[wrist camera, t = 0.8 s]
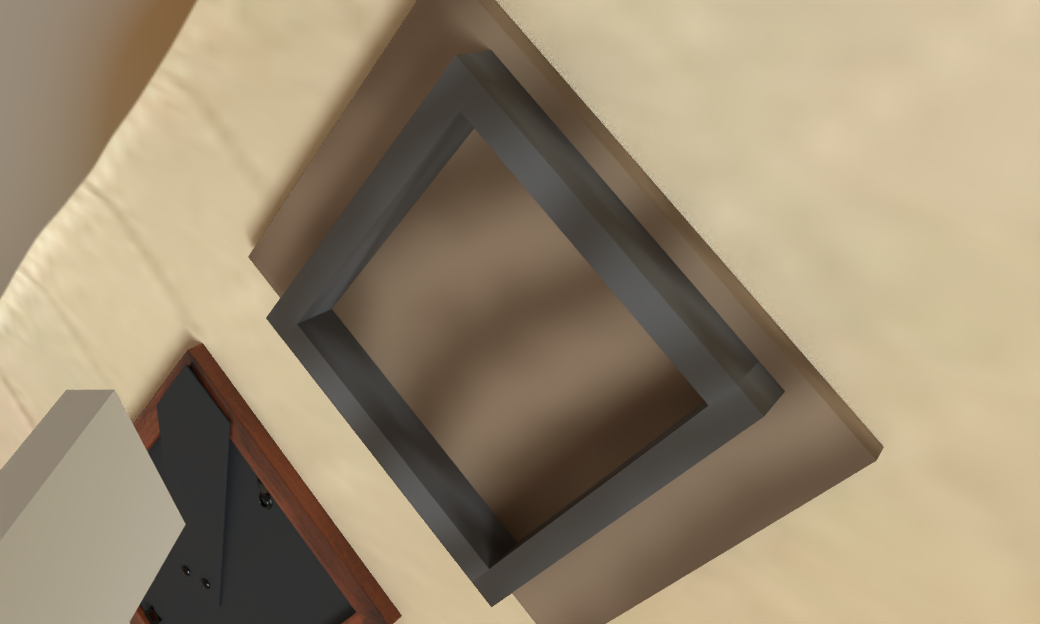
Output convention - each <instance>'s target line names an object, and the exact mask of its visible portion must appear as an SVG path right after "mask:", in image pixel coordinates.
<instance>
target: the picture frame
mask: <svg viewBox="0 0 1040 624" xmlns="http://www.w3.org/2000/svg"><path fill="white" fill-rule="evenodd" d="M133 425H134V427H135V429H136V431H137V433H138V435H139V437H140V439H141V441H142V442H143V444H144V446H145V448H146V450H147V452H148V454H149V456H150V458H151V460H152V461H153V463H154V465H155V467H156V469H157V471H158V473H159V475H160V477H161V479H162V480H163V482H164V484H165V486H166V488H167V490H168V492H169V494H170V496H171V498H172V499H173V501H174V503H175V505H176V507H177V509H178V511H179V513H180V515H181V517H182V518H183V520H184V522H185V524H186V525H185V526H184V528H183V530H182V532H181V533H180V535H179V537H178V538H177V540H176V542H175V544H174V545H173V547H172V549H171V551H170V552H169V554H168V556H167V558H166V559H165V561H164V563H163V565H162V566H161V568H160V570H159V572H158V573H157V575H156V577H155V579H154V580H153V582H152V584H151V586H150V587H149V589H148V591H147V593H146V594H145V596H144V598H143V599H142V601H141V603H140V605H139V606H138V608H137V610H136V612H135V613H134V615H133V617H132V619H131V620H130V624H393V623H395V622H396V621H397V620H398V619H399V618H400V617H401V616H402V615H401V614H400V613H399V611H398V610H397V608H396V607H395V606H394V604H393V603H392V602H391V600H390V599H389V597H388V596H387V595H386V593H385V592H384V591H383V589H382V588H381V587H380V585H379V584H378V582H377V581H376V580H375V578H374V577H373V576H372V574H371V573H370V571H369V570H368V569H367V567H366V566H365V565H364V563H363V562H362V561H361V559H360V558H359V556H358V555H357V554H356V552H355V551H354V550H353V548H352V547H351V545H350V544H349V543H348V541H347V540H346V539H345V537H344V536H343V535H342V533H341V532H340V530H339V529H338V528H337V526H336V525H335V524H334V522H333V521H332V519H331V518H330V517H329V515H328V514H327V513H326V511H325V510H324V509H323V507H322V506H321V504H320V503H319V502H318V500H317V499H316V498H315V496H314V495H313V493H312V492H311V491H310V489H309V488H308V487H307V485H306V484H305V483H304V481H303V480H302V478H301V477H300V476H299V474H298V473H297V472H296V470H295V469H294V467H293V466H292V465H291V463H290V462H289V461H288V459H287V458H286V457H285V455H284V454H283V452H282V451H281V450H280V448H279V447H278V446H277V444H276V443H275V441H274V440H273V439H272V437H271V436H270V435H269V433H268V432H267V430H266V429H265V428H264V426H263V425H262V424H261V422H260V421H259V420H258V418H257V417H256V415H255V414H254V413H253V411H252V410H251V409H250V407H249V406H248V404H247V403H246V402H245V400H244V399H243V398H242V396H241V395H240V394H239V392H238V391H237V389H236V388H235V387H234V385H233V384H232V383H231V381H230V380H229V378H228V377H227V376H226V374H225V373H224V372H223V370H222V369H221V368H220V366H219V365H218V363H217V362H216V361H215V359H214V358H213V357H212V355H211V354H210V352H209V351H208V350H207V348H206V347H205V346H204V344H201V345H199V346H196V347H194V348H191V349H189V350H187V352H186V353H185V354H184V356H183V357H182V359H181V360H180V361H179V363H178V364H177V365H176V367H175V368H174V369H173V371H172V372H171V374H170V375H169V376H168V378H167V379H166V380H165V382H164V383H163V384H162V386H161V387H160V389H159V390H158V391H157V393H156V394H155V395H154V397H153V398H152V399H151V401H150V402H149V404H148V405H147V406H146V408H145V409H144V410H143V412H142V413H141V415H140V416H139V417H138V419H137V420H136V421H135V423H134V424H133Z"/></svg>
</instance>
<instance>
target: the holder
mask: <svg viewBox="0 0 1040 624" xmlns="http://www.w3.org/2000/svg"><path fill="white" fill-rule="evenodd" d="M249 258H250V260H251V261H252V262H253V264H254V265H255V266H256V267H257V269H258V270H259V271H260V272H261V274H262V275H263V276H264V278H265V279H266V280H267V281H268V283H269V284H270V285H271V286H272V288H273V289H274V290H275V292H276V293H277V294H278V295H279V297H280V299H279V301H278V302H277V304H276V305H275V306H274V308H273V309H272V310H271V312H270V313H269V315H268V316H267V317H266V319H267V320H268V321H269V322H270V324H271V325H272V326H273V328H274V329H275V330H276V331H277V333H278V334H279V335H280V337H281V338H282V339H283V340H284V342H285V343H286V344H287V346H288V347H289V348H290V349H291V351H292V352H293V353H294V355H295V356H296V357H297V358H298V360H299V361H300V362H301V364H302V365H303V366H304V367H305V369H306V370H307V371H308V372H309V374H310V375H311V376H312V378H313V379H314V380H315V381H316V383H317V384H318V385H319V387H320V388H321V389H322V390H323V392H324V393H325V394H326V396H327V397H328V398H329V399H330V401H331V402H332V403H333V405H334V406H335V407H336V408H337V410H338V411H339V412H340V414H341V415H342V416H343V417H344V419H345V420H346V421H347V423H348V424H349V425H350V426H351V428H352V429H353V430H354V431H355V433H356V434H357V435H358V437H359V438H360V439H361V440H362V442H363V443H364V444H365V446H366V447H367V448H368V449H369V451H370V452H371V453H372V455H373V456H374V457H375V458H376V460H377V461H378V462H379V464H380V465H381V466H382V467H383V469H384V470H385V471H386V473H387V474H388V475H389V476H390V478H391V479H392V480H393V482H394V483H395V484H396V485H397V487H398V488H399V489H400V490H401V492H402V493H403V494H404V496H405V497H406V498H407V499H408V501H409V502H410V503H411V505H412V506H413V507H414V508H415V510H416V511H417V512H418V514H419V515H420V516H421V517H422V519H423V520H424V521H425V523H426V524H427V525H428V526H429V528H430V529H431V530H432V532H433V533H434V534H435V535H436V537H437V538H438V539H439V541H440V542H441V543H442V544H443V546H444V547H445V548H446V550H447V551H448V552H449V553H450V555H451V556H452V557H453V558H454V560H455V561H456V562H457V564H458V565H459V566H460V567H461V569H462V570H463V571H464V573H465V574H466V575H467V576H468V578H469V579H470V580H471V582H472V583H473V584H474V585H475V587H476V588H477V589H478V591H479V592H480V593H481V594H482V596H483V597H484V598H485V600H486V601H487V602H488V603H489V605H490V606H491V607H493V606H494V605H495V604H497V603H498V602H500V601H501V600H503V599H504V598H505V597H507V596H508V595H510V594H511V593H512V594H513V595H514V596H515V597H516V599H517V600H518V601H519V602H520V604H521V605H522V606H523V608H524V609H525V610H526V611H527V613H528V614H529V615H530V616H531V618H532V619H533V620H534V622H535V623H536V624H606V623H608V622H609V621H611V620H613V619H614V618H616V617H618V616H619V615H621V614H623V613H624V612H626V611H628V610H629V609H631V608H633V607H634V606H636V605H638V604H639V603H641V602H642V601H644V600H646V599H647V598H649V597H651V596H652V595H654V594H656V593H657V592H659V591H661V590H662V589H664V588H666V587H667V586H669V585H671V584H672V583H674V582H676V581H677V580H679V579H681V578H682V577H684V576H686V575H687V574H689V573H691V572H692V571H694V570H696V569H697V568H699V567H701V566H702V565H704V564H706V563H707V562H709V561H711V560H712V559H714V558H716V557H717V556H719V555H720V554H722V553H724V552H725V551H727V550H729V549H730V548H732V547H734V546H735V545H737V544H739V543H740V542H742V541H744V540H745V539H747V538H749V537H750V536H752V535H754V534H755V533H757V532H759V531H760V530H762V529H764V528H765V527H767V526H769V525H770V524H772V523H774V522H775V521H777V520H779V519H780V518H782V517H784V516H785V515H787V514H789V513H790V512H792V511H793V510H795V509H797V508H798V507H800V506H802V505H803V504H805V503H807V502H808V501H810V500H812V499H813V498H815V497H817V496H818V495H820V494H822V493H823V492H825V491H827V490H828V489H830V488H832V487H833V486H835V485H837V484H838V483H840V482H842V481H843V480H845V479H847V478H848V477H850V476H852V475H853V474H855V473H857V472H858V471H860V470H862V469H863V468H865V467H867V466H868V465H870V464H871V463H873V462H875V461H876V460H877V459H878V457H879V455H880V453H881V451H882V449H883V446H882V445H881V444H880V442H879V441H878V440H877V439H876V438H875V437H874V436H873V434H872V433H871V432H870V431H869V430H868V429H867V427H866V426H865V425H864V424H863V423H862V422H861V421H860V419H859V418H858V417H857V416H856V415H855V414H854V413H853V411H852V410H851V409H850V408H849V407H848V406H847V405H846V403H845V402H844V401H843V400H842V399H841V398H840V396H839V395H838V394H837V393H836V392H835V391H834V390H833V388H832V387H831V386H830V385H829V384H828V383H827V382H826V380H825V379H824V378H823V377H822V376H821V375H820V373H819V372H818V371H817V370H816V369H815V368H814V367H813V365H812V364H811V363H810V362H809V361H808V360H807V359H806V357H805V356H804V355H803V354H802V353H801V352H800V350H799V349H798V348H797V347H796V346H795V345H794V344H793V342H792V341H791V340H790V339H789V338H788V337H787V336H786V334H785V333H784V332H783V331H782V330H781V329H780V327H779V326H778V325H777V324H776V323H775V322H774V321H773V319H772V318H771V317H770V316H769V315H768V314H767V313H766V311H765V310H764V309H763V308H762V307H761V306H760V304H759V303H758V302H757V301H756V300H755V299H754V298H753V296H752V295H751V294H750V293H749V292H748V291H747V290H746V288H745V287H744V286H743V285H742V284H741V283H740V281H739V280H738V279H737V278H736V277H735V276H734V275H733V273H732V272H731V271H730V270H729V269H728V268H727V267H726V265H725V264H724V263H723V262H722V261H721V260H720V258H719V257H718V256H717V255H716V254H715V253H714V252H713V250H712V249H711V248H710V247H709V246H708V245H707V244H706V242H705V241H704V240H703V239H702V238H701V237H700V235H699V234H698V233H697V232H696V231H695V230H694V229H693V227H692V226H691V225H690V224H689V223H688V222H687V221H686V219H685V218H684V217H683V216H682V215H681V214H680V212H679V211H678V210H677V209H676V208H675V207H674V206H673V204H672V203H671V202H670V201H669V200H668V199H667V198H666V196H665V195H664V194H663V193H662V192H661V191H660V189H659V188H658V187H657V186H656V185H655V184H654V183H653V181H652V180H651V179H650V178H649V177H648V176H647V175H646V173H645V172H644V171H643V170H642V169H641V168H640V166H639V165H638V164H637V163H636V162H635V161H634V160H633V158H632V157H631V156H630V155H629V154H628V153H627V152H626V150H625V149H624V148H623V147H622V146H621V145H620V143H619V142H618V141H617V140H616V139H615V138H614V137H613V135H612V134H611V133H610V132H609V131H608V130H607V129H606V127H605V126H604V125H603V124H602V123H601V122H600V120H599V119H598V118H597V117H596V116H595V115H594V114H593V112H592V111H591V110H590V109H589V108H588V107H587V106H586V104H585V103H584V102H583V101H582V100H581V99H580V98H579V96H578V95H577V94H576V93H575V92H574V91H573V89H572V88H571V87H570V86H569V85H568V84H567V83H566V81H565V80H564V79H563V78H562V77H561V76H560V75H559V73H558V72H557V71H556V70H555V69H554V68H553V66H552V65H551V64H550V63H549V62H548V61H547V60H546V58H545V57H544V56H543V55H542V54H541V53H540V52H539V50H538V49H537V48H536V47H535V46H534V45H533V43H532V42H531V41H530V40H529V39H528V38H527V37H526V35H525V34H524V33H523V32H522V31H521V30H520V29H519V27H518V26H517V25H516V24H515V23H514V22H513V20H512V19H511V18H510V17H509V16H508V15H507V14H506V12H505V11H504V10H503V9H502V8H501V7H500V6H499V4H498V3H497V2H496V1H495V0H417V2H416V3H415V5H414V6H413V8H412V10H411V11H410V13H409V14H408V16H407V17H406V19H405V20H404V22H403V23H402V25H401V26H400V28H399V29H398V31H397V32H396V34H395V35H394V37H393V38H392V40H391V41H390V43H389V44H388V46H387V47H386V49H385V50H384V52H383V53H382V55H381V56H380V58H379V60H378V61H377V63H376V64H375V66H374V67H373V69H372V70H371V72H370V73H369V75H368V76H367V78H366V79H365V81H364V82H363V84H362V85H361V87H360V88H359V90H358V91H357V93H356V94H355V96H354V97H353V99H352V100H351V102H350V103H349V105H348V107H347V108H346V110H345V111H344V113H343V114H342V116H341V117H340V119H339V120H338V122H337V123H336V125H335V126H334V128H333V129H332V131H331V132H330V134H329V135H328V137H327V138H326V140H325V141H324V143H323V144H322V146H321V147H320V149H319V150H318V152H317V153H316V155H315V157H314V158H313V160H312V161H311V163H310V164H309V166H308V167H307V169H306V170H305V172H304V173H303V175H302V176H301V178H300V179H299V181H298V182H297V184H296V185H295V187H294V188H293V190H292V191H291V193H290V194H289V196H288V197H287V199H286V200H285V202H284V204H283V205H282V207H281V208H280V210H279V211H278V213H277V214H276V216H275V217H274V219H273V220H272V222H271V223H270V225H269V226H268V228H267V229H266V231H265V232H264V234H263V235H262V237H261V238H260V240H259V241H258V243H257V244H256V246H255V247H254V249H253V250H252V252H251V254H250V255H249Z"/></svg>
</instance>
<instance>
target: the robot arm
mask: <svg viewBox="0 0 1040 624" xmlns="http://www.w3.org/2000/svg"><path fill="white" fill-rule="evenodd" d="M185 525H186V524H185V522H184V520H183V518H182V517H181V515H180V513H179V511H178V509H177V507H176V505H175V503H174V501H173V499H172V498H171V496H170V494H169V492H168V490H167V488H166V486H165V484H164V482H163V480H162V479H161V477H160V475H159V473H158V471H157V469H156V467H155V465H154V463H153V461H152V460H151V458H150V456H149V454H148V452H147V450H146V448H145V446H144V444H143V442H142V441H141V439H140V437H139V435H138V433H137V431H136V429H135V427H134V425H133V423H132V422H131V420H130V418H129V416H128V414H127V412H126V410H125V408H124V406H123V404H122V403H121V401H120V399H119V397H118V395H117V393H116V391H115V390H66V391H65V392H64V393H63V395H62V396H61V397H60V398H59V400H58V401H57V402H56V403H55V404H54V406H53V407H52V408H51V409H50V411H49V412H48V413H47V414H46V415H45V417H44V418H43V419H42V420H41V422H40V423H39V424H38V425H37V426H36V428H35V429H34V430H33V431H32V433H31V434H30V435H29V436H28V437H27V439H26V440H25V441H24V442H23V444H22V445H21V446H20V447H19V448H18V450H17V451H16V452H15V453H14V455H13V456H12V457H11V458H10V459H9V461H8V462H7V463H6V464H5V465H4V467H3V468H2V469H1V470H0V624H129V622H130V620H131V619H132V617H133V615H134V613H135V612H136V610H137V608H138V606H139V605H140V603H141V601H142V599H143V598H144V596H145V594H146V593H147V591H148V589H149V587H150V586H151V584H152V582H153V580H154V579H155V577H156V575H157V573H158V572H159V570H160V568H161V566H162V565H163V563H164V561H165V559H166V558H167V556H168V554H169V552H170V551H171V549H172V547H173V545H174V544H175V542H176V540H177V538H178V537H179V535H180V533H181V532H182V530H183V528H184V526H185Z"/></svg>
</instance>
